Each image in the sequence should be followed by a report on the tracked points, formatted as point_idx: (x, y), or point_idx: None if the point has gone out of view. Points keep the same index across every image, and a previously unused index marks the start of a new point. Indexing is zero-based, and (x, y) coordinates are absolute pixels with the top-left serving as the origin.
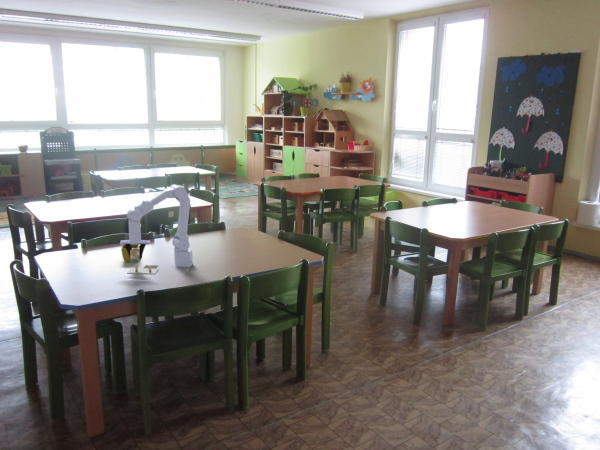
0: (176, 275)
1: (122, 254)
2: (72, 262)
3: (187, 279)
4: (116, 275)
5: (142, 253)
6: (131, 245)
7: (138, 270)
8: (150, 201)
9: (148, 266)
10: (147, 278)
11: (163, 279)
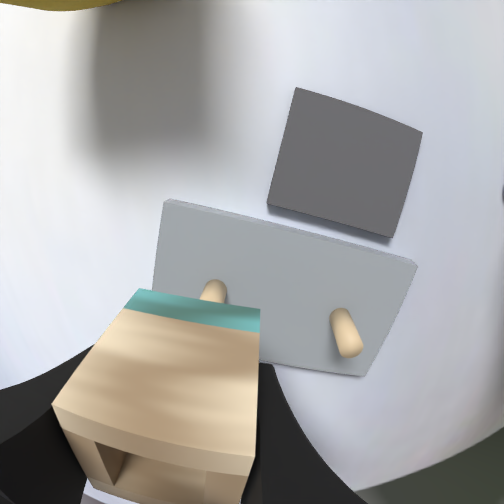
0: (472, 367)
1: (26, 6)
2: None
3: (482, 412)
4: (89, 322)
5: (285, 411)
6: (17, 465)
7: (233, 290)
8: None
9: (326, 143)
10: (307, 411)
11: (392, 423)
